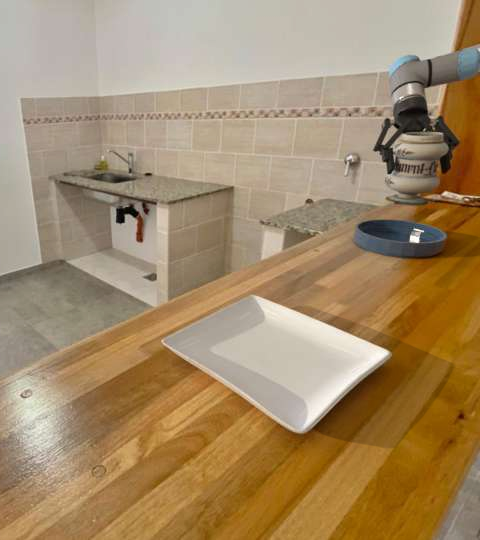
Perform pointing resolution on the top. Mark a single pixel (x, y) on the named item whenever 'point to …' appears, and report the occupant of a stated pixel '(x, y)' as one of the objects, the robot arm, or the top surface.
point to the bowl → (399, 238)
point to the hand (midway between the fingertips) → (418, 171)
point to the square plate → (278, 359)
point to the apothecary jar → (415, 167)
